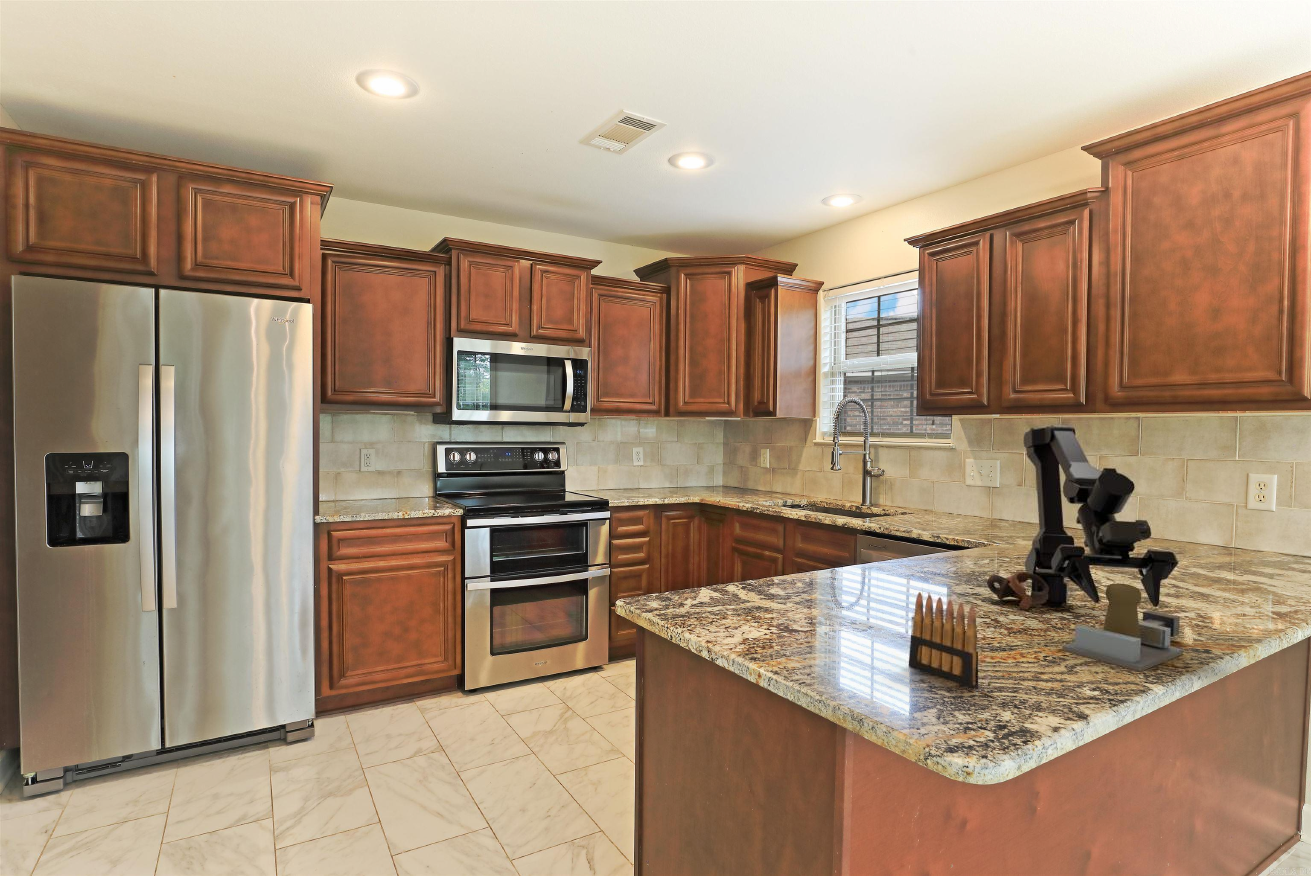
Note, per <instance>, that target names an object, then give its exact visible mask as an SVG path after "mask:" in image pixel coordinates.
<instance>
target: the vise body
mask: <svg viewBox="0 0 1311 876" xmlns="http://www.w3.org/2000/svg"><path fill="white" fill-rule="evenodd" d="M1173 641H1174V637H1170V642H1173ZM1140 648H1141V652H1140ZM1061 649H1062V651H1065V652H1067V653H1071V654H1075V655H1079V656H1081V657H1085V658H1088V659H1094V660H1097V661H1100V662H1103V663H1108V664H1111V665H1115V666H1118V667H1123V668H1126V669H1130V670H1133V671H1136V672H1140V673H1141V672H1143V671H1146V670H1148V669H1150V668H1153V667H1155V666H1157V665H1160V664H1163V663H1165V662H1167V661H1170V660H1172V659H1174V658H1177V657H1180V656H1182V655H1183V653H1184V649H1182V648H1177V647H1174V646H1171V645H1170V647H1167V648H1165V649H1164V648H1160V647H1156V646H1152V645H1148V644H1144V643H1141V639H1139V638H1135V637H1130V636H1126V635H1122V634H1118V633H1114V632H1110V631H1106V630H1103V629H1101V628H1097V627H1092V626H1088V625H1084V624H1081V625H1078V626H1075V627H1074V641H1073V642H1069V643H1066V644H1063V645H1062V647H1061Z"/></svg>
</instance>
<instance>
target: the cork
mask: <svg viewBox="0 0 1311 876" xmlns="http://www.w3.org/2000/svg"><path fill="white" fill-rule="evenodd" d="M1141 592H1142V591H1141V590H1140V589H1139V588H1138V587H1137V586H1134V585H1132V584H1128V583H1117V582H1116V583H1110V584H1108V585H1107V587H1106V589H1105V598H1106V600H1107V601H1108V605H1107V608H1106V609H1107V610H1106V614H1105V620H1104V624H1103V628H1102V630H1106V631H1110V632H1114V633H1118V634H1122V635H1126V636H1130V637H1135V638H1139V639H1140V631H1139V621H1140V620H1139V613H1138V612H1139V611H1138V606H1139V605H1140V603H1141V602H1142V593H1141ZM1140 652H1141V648H1140Z"/></svg>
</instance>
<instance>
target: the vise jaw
mask: <svg viewBox="0 0 1311 876" xmlns="http://www.w3.org/2000/svg"><path fill="white" fill-rule="evenodd" d="M1180 618H1181V617H1180V616H1178V615H1174V614H1169V613H1163V612H1160V611H1154V610H1149V609H1148V610H1145V611H1142V621H1140V620H1138V621H1139V631H1140V639H1141V643H1144V644H1148V645H1152V646H1156V647H1160V648H1164V649H1165V648H1167V647H1170V646H1171V641H1170V638H1174V637H1177V636H1180Z"/></svg>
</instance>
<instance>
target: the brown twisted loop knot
mask: <svg viewBox="0 0 1311 876" xmlns="http://www.w3.org/2000/svg"><path fill="white" fill-rule="evenodd" d="M1029 580H1031V582H1032V581H1033V582H1034V585H1037V586H1040V587H1042V588H1043V589H1044V591H1042V592H1035V591H1031V590H1030V594H1028V593H1027V592H1026V591H1027V588H1026V587H1025V586H1024V585H1022V583H1025V582H1027V581H1029ZM995 583H997V584H998V586H999V587H997V586H996V585H995ZM986 585H987V588H988V589H989V591H990V592H991V593H993V594H994V595H995V596H996V597H997V599H998V600H1000V601H1003V600H1004V599H1008V598H1013V599H1016V600H1019V601H1020V602H1019V605H1018V606H1019V608H1020V609H1022V610H1024V609H1026V610H1025V611H1027V610H1028V609H1029V608H1030V607H1035V606H1038V605H1039V606H1040V605H1044V604H1043V603H1045V602H1046V600H1047V599H1048V591H1049V587H1048V585H1047V584H1046V582H1045V581H1044V580H1043V579H1042V578H1040V577H1039V576H1037V575H1035V574H1032V573H1029V572H1026V571H1023V570H1022V571H1021V570H1020V571H1015V572H1014V573H1013V574H1012V575H1010V576H1008V577H1003V576H1001V575H1000V574H992V575H990V576H989V577H988V578H987V580H986Z"/></svg>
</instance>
